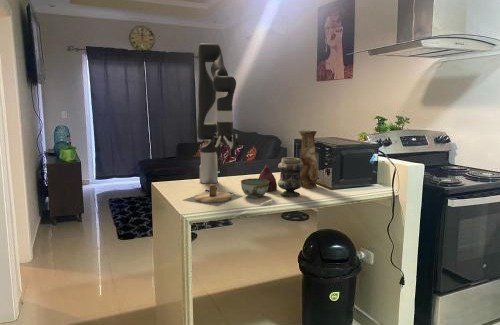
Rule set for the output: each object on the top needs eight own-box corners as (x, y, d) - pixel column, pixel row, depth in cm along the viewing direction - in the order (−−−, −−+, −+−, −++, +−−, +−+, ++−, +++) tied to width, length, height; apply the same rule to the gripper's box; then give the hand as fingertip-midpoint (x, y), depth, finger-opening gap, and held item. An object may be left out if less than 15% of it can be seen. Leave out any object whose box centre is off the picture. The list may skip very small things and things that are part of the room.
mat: (182, 201, 175) (182, 200, 175) (208, 192, 192) (208, 191, 192) (217, 207, 164) (217, 206, 164) (242, 197, 181) (242, 196, 181)
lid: (186, 199, 175) (186, 186, 174) (209, 192, 189) (209, 180, 188) (216, 204, 166) (216, 190, 165) (238, 196, 181) (238, 183, 180)
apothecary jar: (303, 192, 190) (304, 156, 188) (301, 198, 179) (301, 160, 176) (279, 191, 193) (279, 156, 190) (275, 197, 182) (275, 159, 179)
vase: (318, 188, 199) (319, 130, 194) (297, 188, 200) (298, 130, 195) (317, 184, 209) (318, 129, 204) (297, 184, 210) (298, 129, 205)
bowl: (234, 198, 180) (234, 181, 178) (251, 192, 191) (251, 177, 189) (259, 202, 172) (259, 185, 171) (274, 196, 183) (274, 180, 182)
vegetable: (274, 198, 192) (277, 171, 186) (254, 194, 194) (256, 168, 188) (278, 188, 202) (281, 163, 195) (258, 185, 203) (261, 159, 197)
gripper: (208, 120, 176) (208, 155, 179) (231, 121, 168) (231, 158, 170) (219, 120, 182) (219, 154, 185) (242, 120, 173) (242, 156, 176)
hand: (225, 156), depth 177 cm, fingers open, 8 cm apart
